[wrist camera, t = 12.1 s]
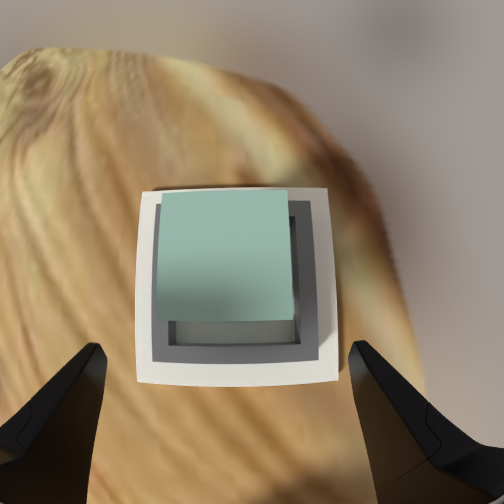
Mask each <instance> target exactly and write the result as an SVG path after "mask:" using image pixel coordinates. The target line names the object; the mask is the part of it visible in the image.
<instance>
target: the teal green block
mask: <svg viewBox="0 0 504 504" xmlns="http://www.w3.org/2000/svg"><path fill="white" fill-rule="evenodd" d="M156 320H165V321H272V320H293V296H292V270H291V248H290V229H289V212H288V197H287V190H228V191H195V192H173V193H162V201H161V212H160V226H159V241H158V261H157V297H156Z"/></svg>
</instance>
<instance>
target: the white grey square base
mask: <svg viewBox="0 0 504 504" xmlns="http://www.w3.org/2000/svg"><path fill="white" fill-rule="evenodd" d="M228 190H287V197H288V212H289V229H290V248H291V270H292V296H293V320H272V321H165V320H156V297H157V261H158V241H159V226H160V212H161V201H162V193H173V192H195V191H228ZM135 344H136V368H137V382H143V383H154V384H166V385H183V386H210V387H248V386H276V385H292V384H305V383H316V382H326V381H335V380H338V320H337V296H336V279H335V264H334V251H333V239H332V229H331V219H330V209H329V201H328V192H327V188H292V187H255V188H210V189H186V190H167V191H151V192H142V200H141V209H140V220H139V231H138V245H137V261H136V287H135Z"/></svg>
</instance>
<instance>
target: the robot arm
mask: <svg viewBox="0 0 504 504" xmlns="http://www.w3.org/2000/svg"><path fill="white" fill-rule="evenodd" d="M348 363H349V370H350V376H351V383H352V390H353V396H354V401H355V405H356V409H357V413H358V417H359V421H360V424H361V428H362V433H363V437H364V441H365V445H366V449H367V453H368V458H369V462H370V467H371V471H372V476H373V480H374V485H375V490H376V496H377V501H378V504H504V448H498V447H491V446H485V445H482V444H480V443H478V442H476V441H475V440H473V439H472V438H471V437H469V436H468V435H467V434H465V433H464V432H463V431H461V430H460V429H459V428H458V427H456V426H455V425H454V424H453V423H451V422H450V421H449V420H448V419H447V418H445V417H444V416H443V415H442V414H441V413H440V412H439V411H438V410H437V409H436V408H435V407H434V406H433V405H432V404H431V403H430V402H428V401H427V400H426V399H425V398H424V397H423V396H422V395H421V394H420V393H419V392H418V391H417V390H416V389H415V388H414V387H413V386H412V385H411V384H410V383H409V382H408V381H407V380H406V379H405V378H404V377H403V376H402V375H401V374H400V373H399V372H398V371H397V370H396V369H395V368H394V367H393V366H392V365H390V364H389V363H388V362H387V361H386V360H385V359H384V358H383V357H382V356H381V355H380V354H379V353H378V352H377V351H376V350H375V349H374V348H373V347H372V346H371V345H370V344H369V343H368V342H367V341H365V340H360V341H354V342H353V344H352V347H351V350H350V353H349V356H348ZM106 370H107V357H106V355H105V353H104V351H103V349H102V347H101V345H100V344H99V343H93V342H90V343H88V344H87V345H86V346H84V347H83V348H82V349H81V350H80V351H79V352H78V353H77V354H76V355H75V356H74V357H73V358H72V359H71V360H70V361H69V362H68V363H67V364H66V365H65V366H63V367H62V368H61V369H60V370H59V371H58V372H57V373H56V374H55V375H54V376H53V377H52V378H51V379H50V380H49V381H48V382H47V383H46V384H45V385H44V386H43V387H42V388H41V389H40V390H39V391H38V392H37V393H36V394H35V395H34V396H33V397H32V398H31V400H29V401H28V402H27V403H26V404H25V405H24V406H23V407H22V408H21V409H20V410H19V411H18V412H17V413H16V414H15V415H14V416H12V417H11V418H10V419H9V420H8V421H7V422H6V423H4V424H3V425H2V426H1V427H0V504H86V502H87V492H88V482H89V474H90V467H91V460H92V453H93V447H94V441H95V436H96V430H97V425H98V420H99V415H100V410H101V405H102V400H103V394H104V386H105V378H106Z"/></svg>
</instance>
